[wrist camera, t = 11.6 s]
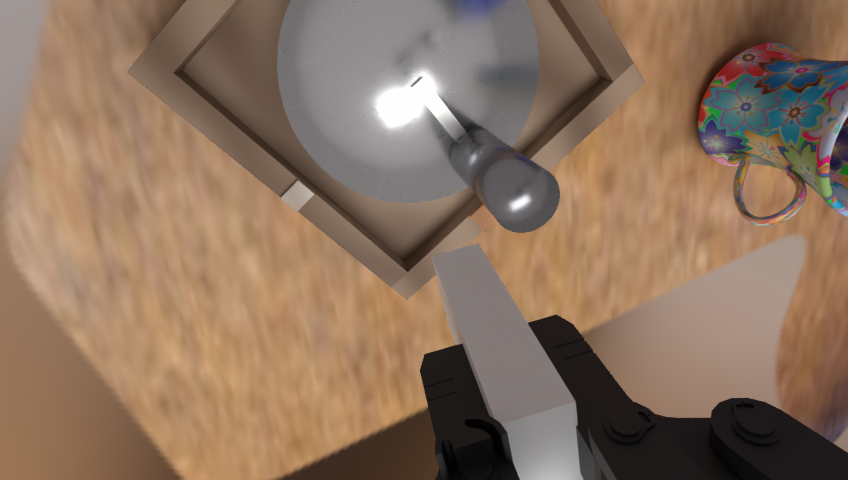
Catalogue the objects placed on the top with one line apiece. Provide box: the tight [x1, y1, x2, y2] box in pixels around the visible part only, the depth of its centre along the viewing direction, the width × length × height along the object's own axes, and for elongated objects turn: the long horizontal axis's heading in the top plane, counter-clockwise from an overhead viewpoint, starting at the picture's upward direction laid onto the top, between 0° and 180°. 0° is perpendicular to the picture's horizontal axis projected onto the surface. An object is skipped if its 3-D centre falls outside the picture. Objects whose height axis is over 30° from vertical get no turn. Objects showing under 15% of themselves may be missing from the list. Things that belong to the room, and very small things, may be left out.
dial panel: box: [127, 0, 646, 300], centre depth 27 cm, size 20×20×4 cm
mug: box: [698, 42, 848, 226], centre depth 29 cm, size 12×9×11 cm
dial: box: [277, 0, 560, 233], centre depth 22 cm, size 14×14×10 cm
